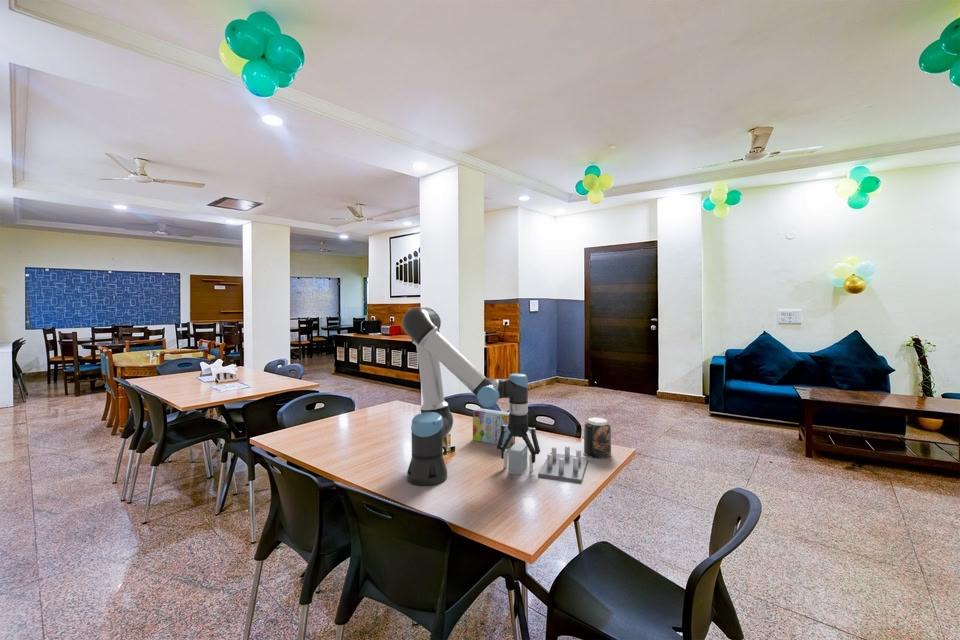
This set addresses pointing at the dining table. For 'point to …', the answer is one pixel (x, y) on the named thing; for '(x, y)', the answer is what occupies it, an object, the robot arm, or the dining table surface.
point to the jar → (597, 438)
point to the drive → (517, 458)
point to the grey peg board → (564, 466)
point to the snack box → (490, 426)
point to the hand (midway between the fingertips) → (518, 468)
